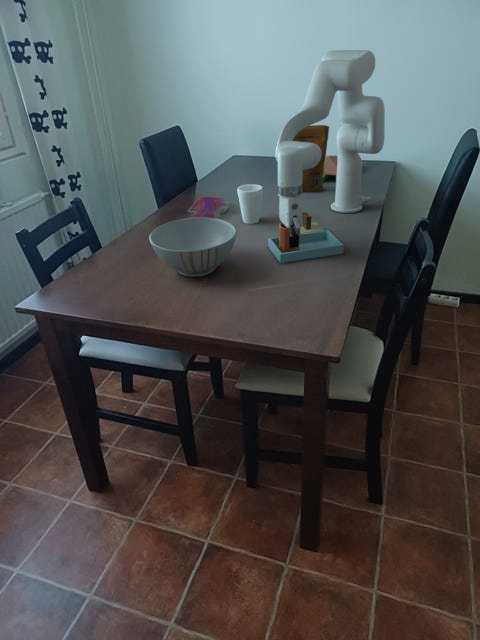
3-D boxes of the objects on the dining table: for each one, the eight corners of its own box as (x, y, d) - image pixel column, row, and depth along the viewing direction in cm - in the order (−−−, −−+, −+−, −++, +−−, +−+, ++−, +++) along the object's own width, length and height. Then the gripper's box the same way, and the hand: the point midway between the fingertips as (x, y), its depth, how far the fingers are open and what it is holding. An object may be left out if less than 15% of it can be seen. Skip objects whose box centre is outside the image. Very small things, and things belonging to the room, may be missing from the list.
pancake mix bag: (325, 194, 208) (328, 126, 193) (282, 192, 212) (282, 126, 197) (326, 189, 213) (330, 123, 198) (284, 188, 218) (285, 123, 203)
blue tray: (327, 238, 167) (327, 229, 165) (343, 254, 156) (343, 244, 154) (268, 247, 163) (268, 238, 161) (280, 264, 152) (280, 254, 150)
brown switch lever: (301, 224, 171) (301, 212, 168) (305, 224, 171) (306, 211, 169) (306, 229, 167) (306, 216, 164) (310, 229, 167) (311, 216, 165)
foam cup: (260, 225, 180) (260, 192, 173) (237, 225, 182) (235, 191, 175) (264, 216, 188) (264, 184, 181) (241, 216, 190) (240, 183, 183)
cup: (295, 246, 162) (295, 220, 156) (302, 254, 156) (302, 227, 151) (276, 249, 160) (276, 222, 155) (282, 257, 155) (282, 230, 150)
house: (360, 166, 241) (362, 150, 236) (340, 185, 217) (341, 167, 212) (318, 163, 250) (318, 147, 246) (293, 180, 226) (293, 163, 222)
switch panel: (314, 228, 175) (314, 220, 174) (323, 237, 168) (324, 229, 166) (283, 232, 173) (283, 224, 172) (291, 242, 166) (291, 234, 164)
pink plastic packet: (215, 230, 179) (214, 217, 176) (178, 228, 182) (176, 215, 179) (234, 203, 203) (234, 191, 200) (201, 202, 206) (199, 190, 203)
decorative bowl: (206, 296, 137) (203, 257, 130) (137, 276, 149) (130, 241, 143) (253, 259, 156) (252, 224, 149) (188, 245, 168) (184, 212, 162)
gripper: (311, 196, 140) (309, 250, 150) (292, 180, 155) (291, 231, 164) (287, 199, 139) (286, 254, 149) (270, 183, 153) (270, 234, 163)
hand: (289, 241), depth 156 cm, fingers open, 8 cm apart
